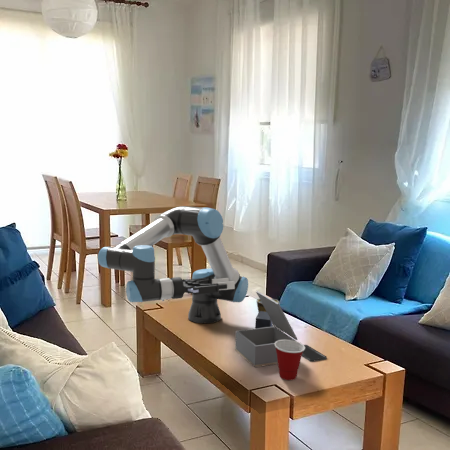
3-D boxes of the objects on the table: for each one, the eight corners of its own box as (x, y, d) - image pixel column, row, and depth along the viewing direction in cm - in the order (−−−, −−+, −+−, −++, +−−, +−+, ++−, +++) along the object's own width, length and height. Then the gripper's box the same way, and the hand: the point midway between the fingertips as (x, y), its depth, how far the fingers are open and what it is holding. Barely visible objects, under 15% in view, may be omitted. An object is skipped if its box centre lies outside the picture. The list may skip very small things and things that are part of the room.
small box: (270, 344, 232) (270, 319, 231) (254, 342, 234) (254, 318, 232) (273, 335, 243) (273, 311, 241) (257, 334, 244) (258, 310, 242)
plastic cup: (296, 386, 193) (297, 352, 191) (267, 378, 198) (268, 345, 196) (308, 375, 202) (310, 343, 200) (281, 368, 207) (282, 337, 206)
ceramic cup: (282, 323, 259) (283, 302, 257) (265, 327, 253) (265, 305, 252) (264, 315, 270) (265, 295, 268) (248, 319, 264) (248, 298, 262)
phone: (306, 344, 231) (327, 357, 217) (305, 347, 231) (327, 359, 217) (289, 347, 227) (310, 360, 214) (289, 349, 227) (310, 362, 214)
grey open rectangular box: (235, 350, 225) (235, 330, 223) (273, 345, 231) (274, 326, 230) (254, 367, 208) (255, 346, 207) (295, 361, 215) (296, 340, 213)
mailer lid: (255, 291, 224) (257, 290, 225) (274, 325, 230) (275, 323, 230) (277, 304, 208) (279, 302, 208) (296, 340, 213) (298, 338, 213)
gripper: (163, 292, 209) (222, 287, 218) (178, 305, 193) (240, 299, 202) (163, 272, 208) (222, 268, 217) (178, 284, 192) (241, 278, 201)
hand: (231, 283), depth 210 cm, fingers open, 5 cm apart
